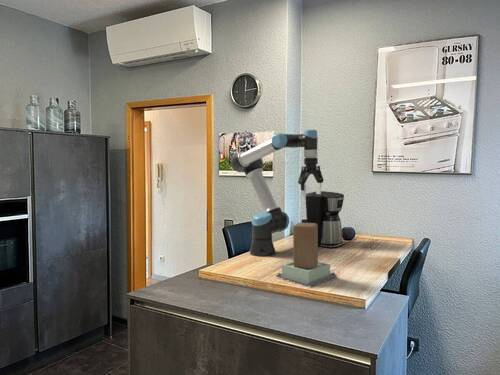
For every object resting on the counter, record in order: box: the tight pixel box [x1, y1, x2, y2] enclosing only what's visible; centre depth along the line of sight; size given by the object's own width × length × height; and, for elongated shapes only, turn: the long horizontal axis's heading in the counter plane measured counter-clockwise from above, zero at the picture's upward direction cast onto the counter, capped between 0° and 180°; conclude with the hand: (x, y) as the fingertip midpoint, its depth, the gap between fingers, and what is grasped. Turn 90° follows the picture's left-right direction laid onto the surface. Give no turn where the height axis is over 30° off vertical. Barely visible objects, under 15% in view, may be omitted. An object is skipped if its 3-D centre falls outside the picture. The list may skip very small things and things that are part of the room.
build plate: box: [275, 260, 337, 287], centre depth 185 cm, size 20×20×6 cm
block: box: [292, 222, 319, 269], centre depth 184 cm, size 10×10×20 cm
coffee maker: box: [304, 190, 345, 249], centre depth 252 cm, size 23×32×34 cm
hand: (311, 195), depth 222 cm, fingers open, 13 cm apart
